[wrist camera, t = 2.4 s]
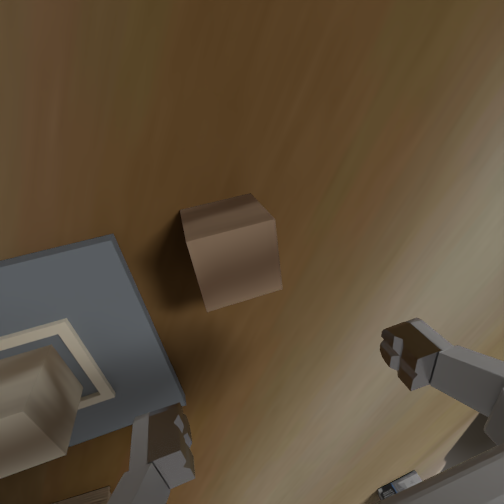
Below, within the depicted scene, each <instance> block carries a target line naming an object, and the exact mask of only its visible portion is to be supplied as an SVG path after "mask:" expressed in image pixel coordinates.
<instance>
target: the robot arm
mask: <svg viewBox="0 0 504 504" xmlns="http://www.w3.org/2000/svg"><path fill="white" fill-rule="evenodd" d="M381 337H382V338H383V339H384V340H383V341H382V343H381V344H380V352H381V355H382V357H383V359H384V361H385V362H386V363H387V365H388V366H389V367H390V368H393V369H395V370H397V373H398V377H399V378H400V380H401V381H402V382H403V383H404V384H405V385H406V386H407V388H408V389H409V390H410V391H412V390H415V389H418V388H420V387H423V386H426V385H429V384H430V385H431V386H432V387H434V388H436V389H438V390H440V391H441V392H443V393H445V394H447V395H449V396H451V397H452V398H454V399H456V400H458V401H460V402H462V403H463V404H465V405H467V406H469V407H471V408H473V409H474V410H476V411H478V412H480V413H482V414H483V415H485V416H487V417H489V418H488V420H487V422H486V424H485V426H484V432H485V433H486V434H487V435H488V436H489V437H490V438H491V439H492V440H493V441H494V442H495V443H496V444H497V445H498V446H496V447H494V448H492V449H490V450H488V451H486V452H483V453H481V454H479V455H477V456H475V457H473V458H471V459H469V460H466V461H464V462H462V463H460V464H458V465H456V466H454V467H452V468H450V469H447V470H445V471H443V472H441V473H439V474H437V475H435V476H433V477H430V478H428V479H426V480H424V481H422V482H420V483H418V484H416V485H413V486H411V487H409V488H407V489H405V490H403V491H401V492H399V493H397V494H394V495H392V496H390V497H388V498H386V499H384V500H382V501H380V502H377V503H375V504H504V361H501V360H498V359H495V358H493V357H490V356H487V355H484V354H481V353H478V352H475V351H473V350H470V349H467V348H464V347H461V346H458V345H456V346H453V345H452V344H451V343H449V342H448V341H447V340H446V339H445V338H443V337H442V336H441V335H440V334H438V333H437V332H436V331H435V330H434V329H432V328H431V327H430V326H429V325H427V324H426V323H425V322H424V321H423V320H421V319H419V318H414V319H412V320H409V321H406V322H402V323H400V324H397V325H394V326H392V327H389V328H386V329H384V330H383V331H382V335H381ZM191 444H192V437H191V431H190V425H189V422H188V419H187V416H186V415H185V414H183V408H182V406H181V404H180V402H178V403H176V404H173V405H170V406H167V407H164V408H161V409H158V410H155V411H152V412H148V413H145V414H143V415H140V416H137V417H135V419H134V422H133V428H132V440H131V452H130V463H129V471H128V472H125V473H124V474H123V476H122V478H121V479H120V481H119V483H118V485H117V487H116V488H115V490H114V492H113V494H112V495H111V497H110V499H109V501H108V503H107V504H166V502H167V499H168V496H169V494H170V490H169V489H172V488H174V487H176V486H178V485H181V484H183V483H185V482H188V481H190V480H192V479H194V478H195V469H194V458H193V455H192V452H191V450H190V446H191Z"/></svg>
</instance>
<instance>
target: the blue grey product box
mask: <svg viewBox="0 0 504 504" xmlns="http://www.w3.org/2000/svg"><path fill="white" fill-rule="evenodd" d="M420 482H422V479H421V478H420V477H419V475H418V474H417V472H416V471H413V472H411V473H409V474H407V475H405V476H403V477H401V478H399V479H397V480H395V481H393V482H391V483H390V484H388V485H386V486H384V487H382V488H379V489H378V495H379V498H380V500H381V501H382V500H384V499H386V498H388V497H390V496H392V495H394V494H397V493H399V492H401V491H403V490H405V489H407V488H409V487H411V486H413V485H416V484H418V483H420Z"/></svg>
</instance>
